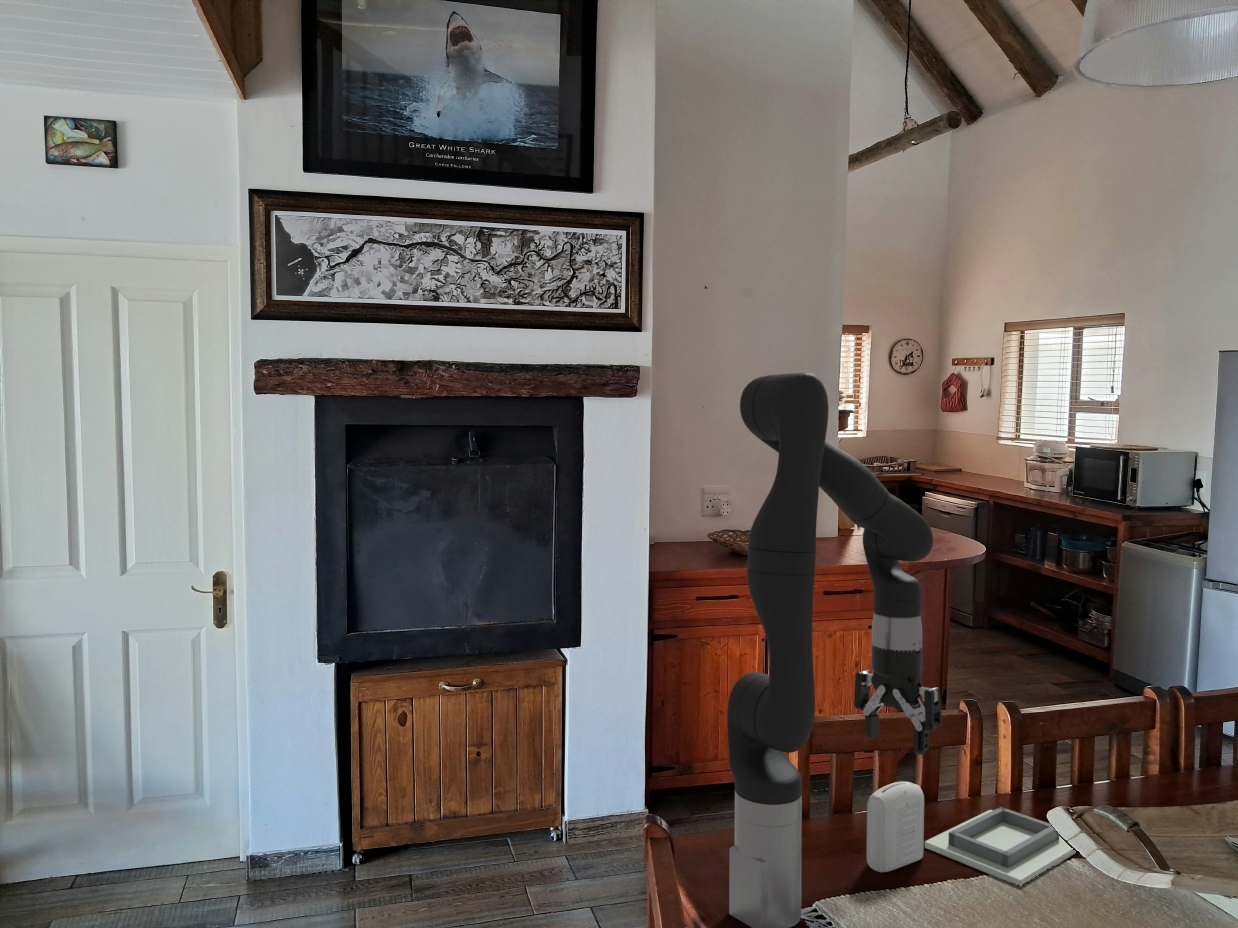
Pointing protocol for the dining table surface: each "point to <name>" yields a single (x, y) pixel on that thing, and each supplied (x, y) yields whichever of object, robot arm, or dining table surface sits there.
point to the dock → (1003, 845)
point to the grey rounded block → (895, 826)
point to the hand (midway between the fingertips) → (896, 745)
